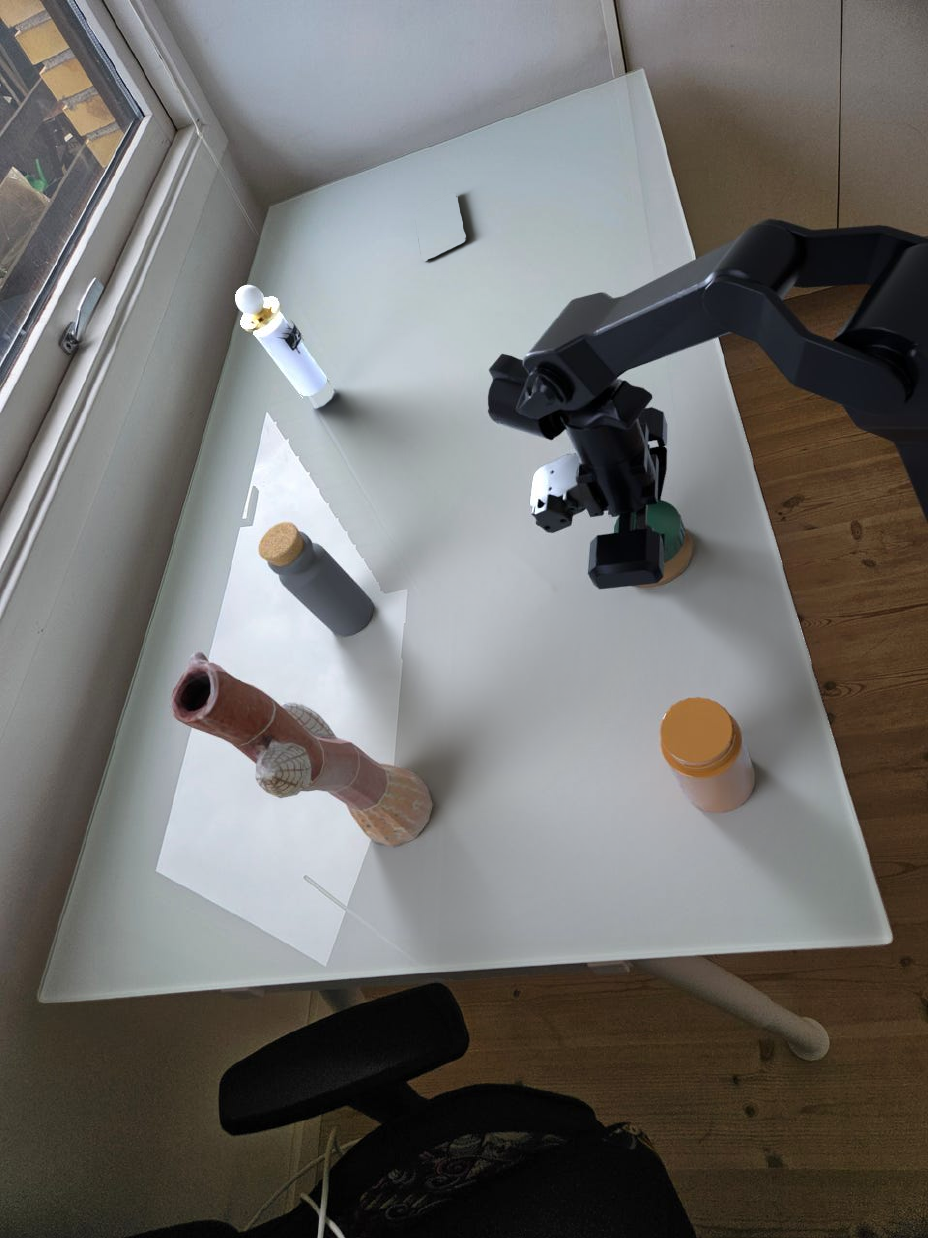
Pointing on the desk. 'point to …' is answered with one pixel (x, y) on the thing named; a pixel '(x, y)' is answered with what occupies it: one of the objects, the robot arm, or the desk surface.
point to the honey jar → (707, 754)
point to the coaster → (676, 563)
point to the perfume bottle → (279, 340)
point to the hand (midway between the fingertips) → (649, 547)
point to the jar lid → (665, 526)
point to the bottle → (316, 579)
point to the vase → (301, 752)
